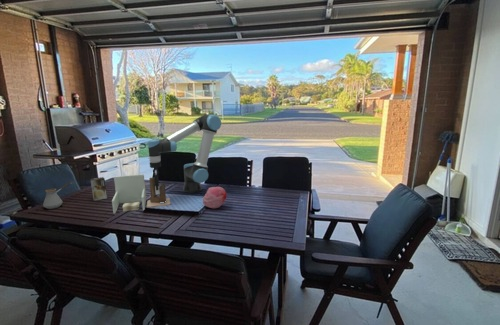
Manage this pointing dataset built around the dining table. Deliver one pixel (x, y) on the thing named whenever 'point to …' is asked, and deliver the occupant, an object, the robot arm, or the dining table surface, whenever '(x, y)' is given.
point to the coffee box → (98, 188)
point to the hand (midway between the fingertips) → (157, 193)
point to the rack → (129, 190)
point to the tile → (158, 203)
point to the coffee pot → (53, 198)
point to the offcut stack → (131, 206)
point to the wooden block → (153, 194)
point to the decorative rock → (214, 197)
